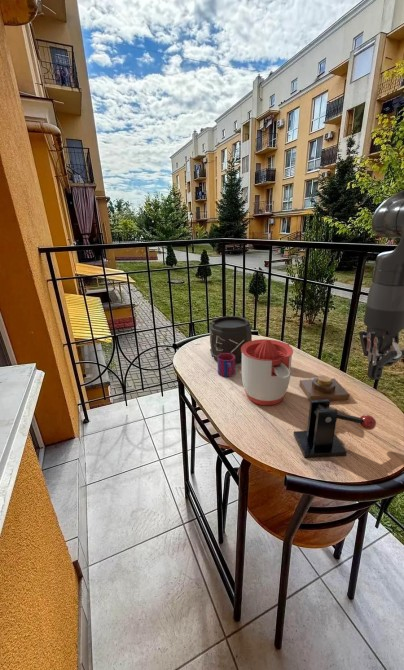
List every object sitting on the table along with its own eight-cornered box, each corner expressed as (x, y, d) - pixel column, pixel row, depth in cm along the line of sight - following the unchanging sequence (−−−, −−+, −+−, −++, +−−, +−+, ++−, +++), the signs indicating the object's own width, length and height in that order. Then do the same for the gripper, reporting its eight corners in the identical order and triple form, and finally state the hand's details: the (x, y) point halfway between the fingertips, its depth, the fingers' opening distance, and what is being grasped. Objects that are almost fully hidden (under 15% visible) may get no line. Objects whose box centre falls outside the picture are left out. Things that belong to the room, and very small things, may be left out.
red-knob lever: (366, 424, 71) (373, 413, 70) (374, 434, 68) (382, 422, 66) (311, 412, 69) (317, 400, 68) (317, 421, 66) (323, 409, 65)
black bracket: (330, 433, 74) (336, 395, 70) (346, 456, 67) (353, 415, 63) (293, 435, 74) (297, 397, 70) (304, 458, 67) (309, 417, 63)
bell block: (333, 383, 97) (335, 373, 95) (348, 400, 88) (350, 389, 86) (299, 385, 97) (300, 375, 95) (310, 402, 87) (311, 391, 86)
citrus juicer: (260, 419, 81) (262, 356, 74) (232, 389, 96) (231, 335, 89) (303, 405, 86) (309, 345, 79) (270, 379, 101) (273, 327, 94)
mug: (234, 368, 111) (234, 352, 108) (237, 381, 101) (237, 364, 99) (217, 369, 111) (216, 353, 108) (219, 382, 101) (218, 365, 99)
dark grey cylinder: (200, 356, 122) (198, 322, 116) (228, 344, 133) (228, 312, 127) (231, 370, 109) (231, 332, 103) (259, 355, 120) (260, 321, 114)
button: (327, 379, 93) (328, 375, 92) (332, 386, 89) (333, 381, 88) (315, 380, 93) (315, 375, 92) (320, 386, 89) (321, 381, 88)
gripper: (431, 312, 52) (410, 393, 58) (385, 296, 64) (372, 363, 70) (390, 314, 51) (374, 395, 58) (352, 297, 64) (342, 365, 70)
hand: (373, 377), depth 64 cm, fingers closed
